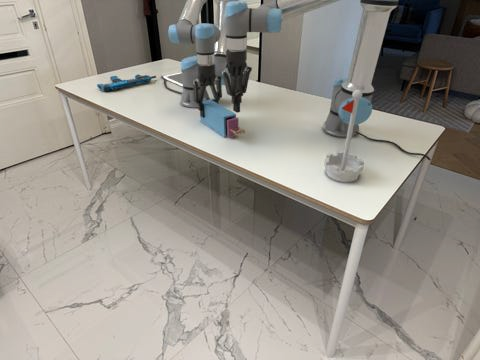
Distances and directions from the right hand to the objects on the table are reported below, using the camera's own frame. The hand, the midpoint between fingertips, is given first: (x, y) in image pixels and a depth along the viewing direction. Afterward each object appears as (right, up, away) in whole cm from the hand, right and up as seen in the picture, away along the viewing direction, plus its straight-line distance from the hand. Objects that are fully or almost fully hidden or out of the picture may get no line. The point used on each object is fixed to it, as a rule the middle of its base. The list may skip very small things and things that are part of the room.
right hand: (236, 111), depth 135 cm
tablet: (-32, +35, +78) cm, 91 cm away
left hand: (-13, +3, +21) cm, 25 cm away
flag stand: (+37, -25, -16) cm, 48 cm away
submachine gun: (-68, +32, +72) cm, 105 cm away
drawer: (-5, -6, +13) cm, 15 cm away
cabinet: (-9, -4, +18) cm, 20 cm away
